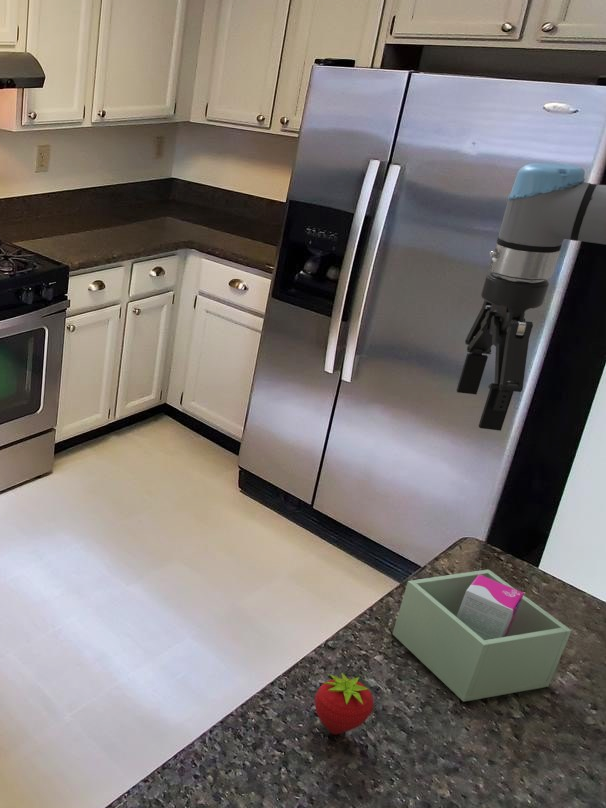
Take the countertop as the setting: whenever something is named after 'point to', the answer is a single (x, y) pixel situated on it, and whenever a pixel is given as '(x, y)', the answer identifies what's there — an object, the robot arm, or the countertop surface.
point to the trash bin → (478, 640)
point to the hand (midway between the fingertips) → (477, 409)
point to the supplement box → (489, 607)
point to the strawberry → (343, 704)
